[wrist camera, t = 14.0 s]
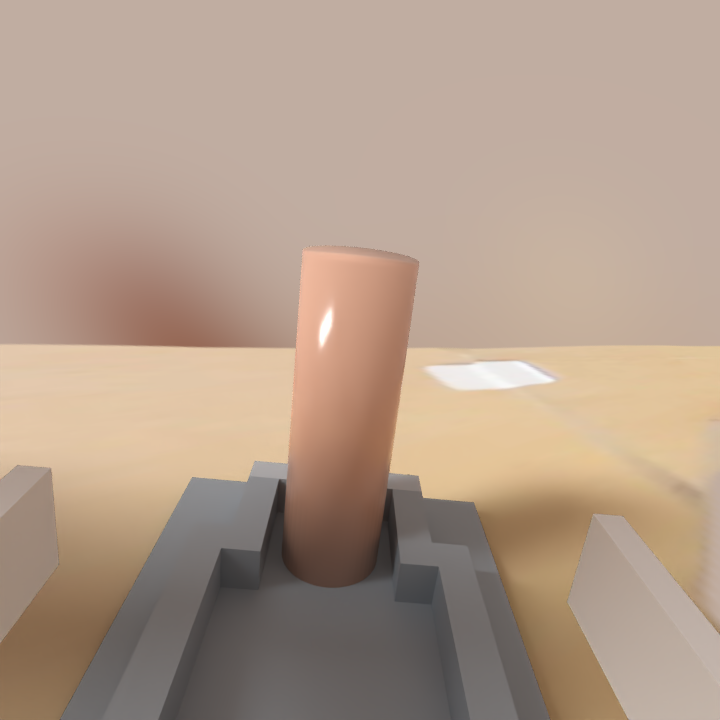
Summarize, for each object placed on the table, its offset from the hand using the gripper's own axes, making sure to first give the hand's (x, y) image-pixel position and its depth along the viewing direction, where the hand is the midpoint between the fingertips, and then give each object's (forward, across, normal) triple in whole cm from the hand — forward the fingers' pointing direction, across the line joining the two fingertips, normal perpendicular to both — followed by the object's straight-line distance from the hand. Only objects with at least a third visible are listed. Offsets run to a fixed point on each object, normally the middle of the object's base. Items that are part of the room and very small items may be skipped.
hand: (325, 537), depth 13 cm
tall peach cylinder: (+10, +1, -8) cm, 13 cm away
